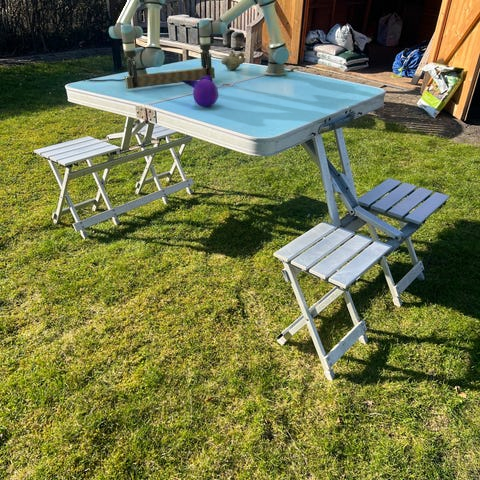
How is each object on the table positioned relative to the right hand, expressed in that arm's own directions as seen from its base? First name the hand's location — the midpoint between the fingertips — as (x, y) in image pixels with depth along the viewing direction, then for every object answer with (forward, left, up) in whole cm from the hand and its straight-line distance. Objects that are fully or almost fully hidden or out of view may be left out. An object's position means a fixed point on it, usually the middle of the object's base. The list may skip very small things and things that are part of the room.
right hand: (207, 77), depth 332 cm
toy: (+46, +54, -3) cm, 71 cm away
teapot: (-44, -22, -3) cm, 49 cm away
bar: (+27, -6, -1) cm, 28 cm away
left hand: (+54, -12, 0) cm, 56 cm away
